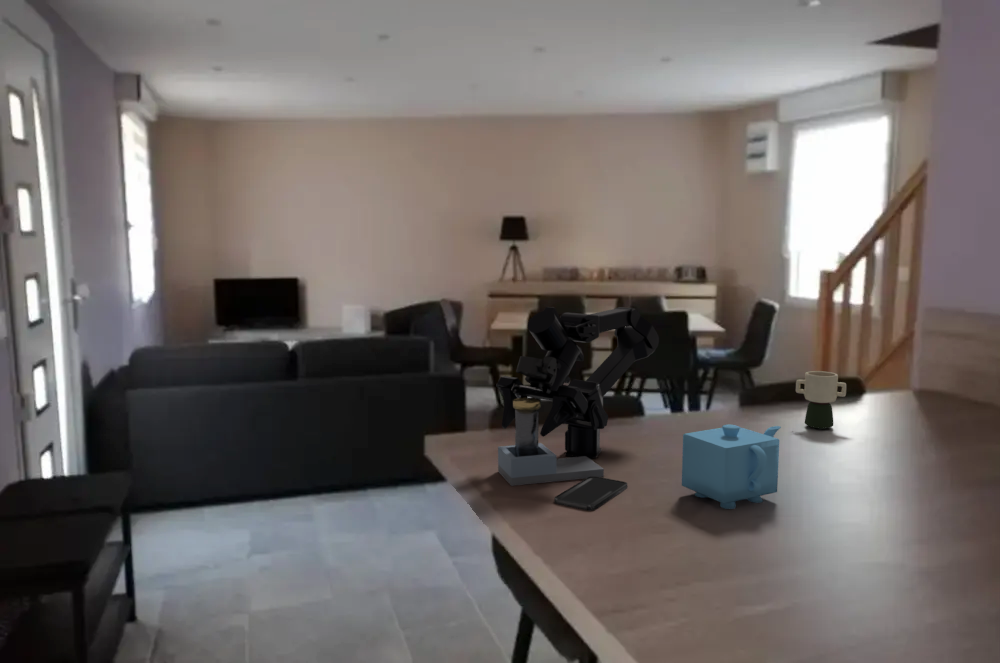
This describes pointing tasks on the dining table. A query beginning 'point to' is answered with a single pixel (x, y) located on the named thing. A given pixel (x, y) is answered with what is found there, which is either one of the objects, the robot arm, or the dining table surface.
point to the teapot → (731, 464)
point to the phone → (590, 493)
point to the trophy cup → (820, 397)
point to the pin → (526, 426)
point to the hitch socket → (543, 467)
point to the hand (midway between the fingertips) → (522, 431)
